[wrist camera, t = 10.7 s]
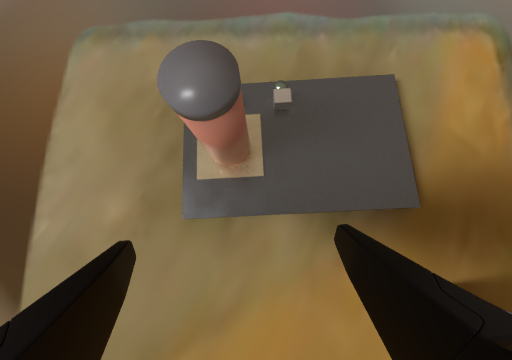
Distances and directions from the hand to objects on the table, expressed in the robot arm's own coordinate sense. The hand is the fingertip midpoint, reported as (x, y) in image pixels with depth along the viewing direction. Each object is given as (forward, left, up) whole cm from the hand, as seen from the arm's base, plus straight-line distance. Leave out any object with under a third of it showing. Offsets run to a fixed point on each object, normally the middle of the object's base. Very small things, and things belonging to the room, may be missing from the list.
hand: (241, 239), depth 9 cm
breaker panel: (+10, +1, -13) cm, 17 cm away
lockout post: (+6, +7, -12) cm, 15 cm away
